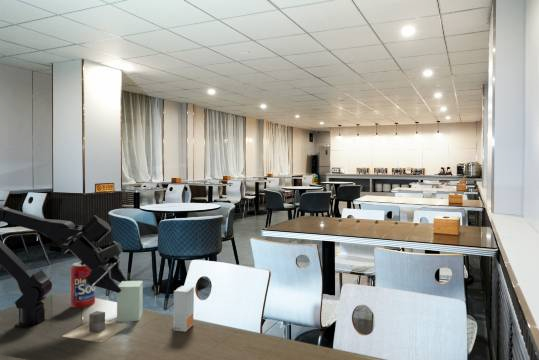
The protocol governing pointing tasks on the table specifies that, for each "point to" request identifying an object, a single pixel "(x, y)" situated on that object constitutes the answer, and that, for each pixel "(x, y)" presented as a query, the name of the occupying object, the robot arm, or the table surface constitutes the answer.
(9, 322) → the table surface
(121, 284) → the pale green carton
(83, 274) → the soda can
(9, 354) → the table surface
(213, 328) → the table surface
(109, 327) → the birch base
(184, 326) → the skincare box
